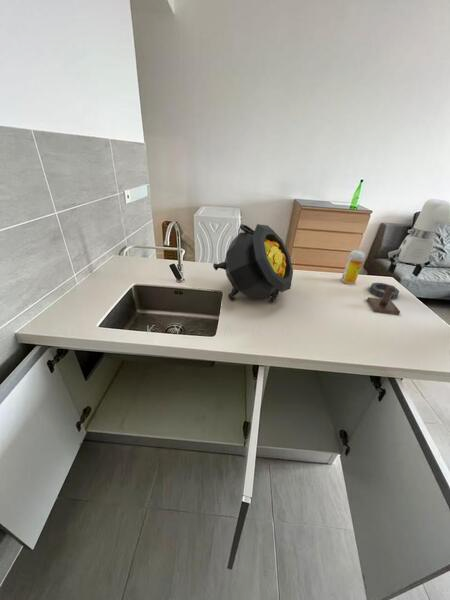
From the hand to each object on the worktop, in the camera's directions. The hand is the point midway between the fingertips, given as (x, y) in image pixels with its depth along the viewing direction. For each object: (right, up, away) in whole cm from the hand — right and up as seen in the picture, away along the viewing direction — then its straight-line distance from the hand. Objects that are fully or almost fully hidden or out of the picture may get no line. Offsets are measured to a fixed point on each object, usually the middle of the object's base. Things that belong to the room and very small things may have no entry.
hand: (402, 273), depth 103 cm
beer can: (-16, -3, +14) cm, 22 cm away
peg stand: (-12, -14, -5) cm, 19 cm away
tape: (-5, -8, +6) cm, 11 cm away
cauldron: (-65, -9, -2) cm, 65 cm away
